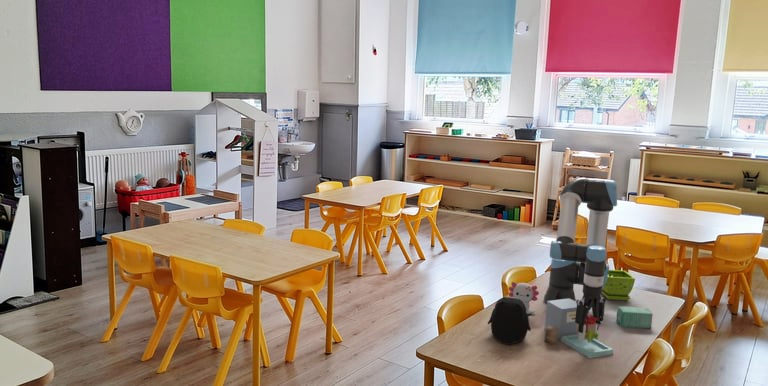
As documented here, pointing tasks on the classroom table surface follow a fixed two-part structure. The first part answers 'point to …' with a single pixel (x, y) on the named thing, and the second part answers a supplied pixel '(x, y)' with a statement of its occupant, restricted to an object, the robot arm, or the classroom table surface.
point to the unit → (562, 316)
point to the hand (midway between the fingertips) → (587, 338)
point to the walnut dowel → (551, 335)
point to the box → (634, 317)
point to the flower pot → (618, 285)
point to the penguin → (509, 320)
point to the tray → (587, 346)
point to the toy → (524, 294)
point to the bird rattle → (589, 328)
